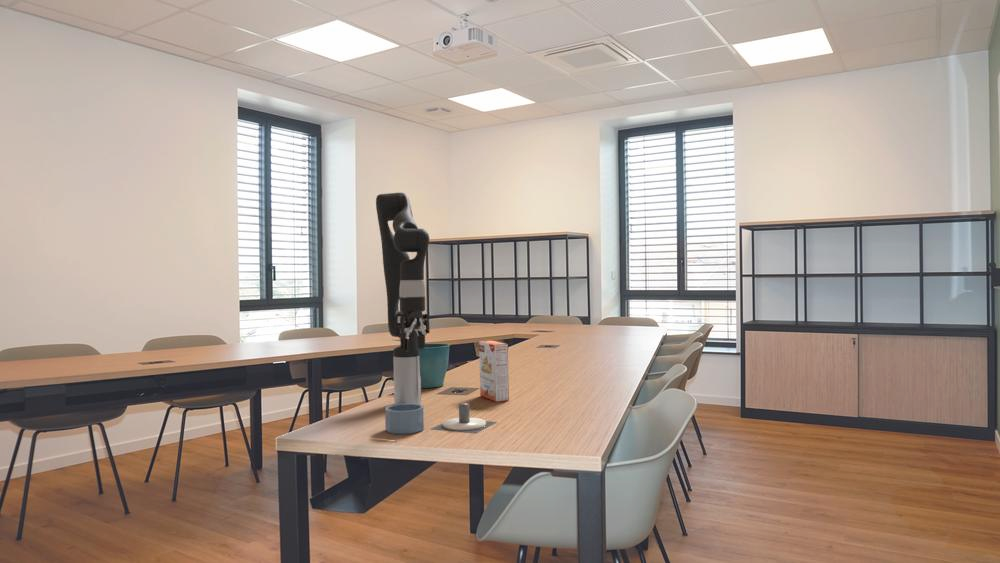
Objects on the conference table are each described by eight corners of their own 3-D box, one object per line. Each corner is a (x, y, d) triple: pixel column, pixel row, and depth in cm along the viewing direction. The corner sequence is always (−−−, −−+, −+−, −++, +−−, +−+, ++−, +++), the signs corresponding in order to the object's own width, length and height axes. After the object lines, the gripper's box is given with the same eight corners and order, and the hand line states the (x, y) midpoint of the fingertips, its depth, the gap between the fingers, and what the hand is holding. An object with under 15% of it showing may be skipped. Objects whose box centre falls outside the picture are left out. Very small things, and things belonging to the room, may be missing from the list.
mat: (453, 419, 204) (453, 418, 204) (497, 423, 198) (497, 422, 198) (430, 430, 190) (430, 429, 190) (475, 434, 184) (475, 433, 184)
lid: (455, 419, 202) (454, 398, 202) (492, 422, 197) (492, 401, 197) (434, 428, 190) (434, 406, 190) (474, 432, 185) (474, 409, 185)
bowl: (399, 425, 197) (398, 402, 197) (430, 428, 192) (430, 405, 192) (378, 434, 187) (378, 409, 187) (411, 437, 182) (410, 412, 182)
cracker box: (479, 396, 243) (478, 340, 243) (493, 394, 246) (492, 340, 246) (494, 402, 231) (493, 344, 230) (509, 401, 233) (508, 343, 233)
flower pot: (398, 386, 268) (397, 345, 268) (433, 381, 280) (432, 342, 280) (423, 391, 255) (423, 348, 255) (459, 385, 267) (458, 344, 267)
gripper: (415, 294, 200) (416, 347, 200) (387, 296, 187) (388, 352, 187) (436, 294, 196) (436, 348, 196) (408, 296, 184) (409, 353, 184)
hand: (413, 350), depth 192 cm, fingers open, 8 cm apart
